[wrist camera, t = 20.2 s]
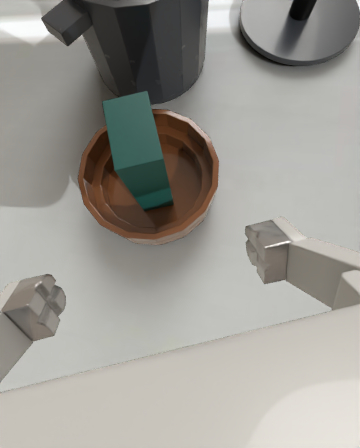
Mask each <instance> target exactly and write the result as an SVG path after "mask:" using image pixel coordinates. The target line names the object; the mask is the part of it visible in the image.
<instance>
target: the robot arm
mask: <svg viewBox="0 0 360 448" xmlns="http://www.w3.org/2000/svg"><path fill="white" fill-rule="evenodd" d="M245 235H246V236H247V238H248V240H247V242H246V251H247V255H248V257H249V260H250V262H251V263H252V265H254V266H256V267H257V273H258V275H259V276H260V278H261V280H262V281H263V283H264V284H268V283H273V282H277V281H282V280H286V281H287V282H289V283H291V284H292V285H294V286H296V287H297V288H299V289H301V290H302V291H304V292H306V293H307V294H309V295H311V296H312V297H314V298H316V299H317V300H319V301H321V302H322V303H324V304H326V305H327V306H329V307H331V308H332V311H329V312H325V313H321V314H317V315H313V316H308V317H304V318H300V319H296V320H292V321H288V322H284V323H280V324H276V325H272V326H268V327H264V328H260V329H256V330H252V331H248V332H243V333H239V334H235V335H231V336H227V337H223V338H219V339H215V340H211V341H207V342H203V343H199V344H195V345H191V346H187V347H183V348H179V349H175V350H171V351H167V352H163V353H158V354H154V355H150V356H146V357H142V358H138V359H134V360H130V361H126V362H122V363H118V364H114V365H110V366H106V367H101V368H97V369H93V370H89V371H85V372H81V373H77V374H73V375H69V376H65V377H61V378H57V379H53V380H49V381H45V382H40V383H36V384H32V385H28V386H24V387H20V388H16V389H12V390H8V391H4V392H0V448H360V252H357V251H354V250H351V249H347V248H344V247H341V246H337V245H334V244H331V243H328V242H324V241H321V240H318V239H314V238H306V237H305V236H304V235H303V234H302V233H301V232H300V231H299V230H297V229H296V228H295V227H294V226H293V225H292V224H291V223H290V222H289V221H288V220H287V219H285V218H284V217H278V218H275V219H271V220H269V221H265V222H261V223H257V224H253V225H249V226H246V228H245ZM55 282H56V280H55V279H54V277H53V276H52V275H50V274H45V275H41V276H36V277H31V278H27V279H23V280H18V281H14V282H11V283H9V284H7V286H6V287H5V288H4V290H3V291H2V293H1V294H0V382H1V381H2V380H3V378H4V377H5V376H6V375H7V373H8V372H9V371H10V370H11V369H12V367H13V366H14V365H15V364H16V363H17V361H18V360H19V359H20V358H21V356H22V355H23V354H24V353H25V352H26V350H27V349H28V348H29V347H30V346H31V344H32V343H33V341H36V340H40V339H44V338H47V337H51V336H54V335H55V333H56V330H57V327H58V325H59V322H60V319H59V317H58V316H59V315H60V314H61V313H62V312H63V311H64V308H65V305H66V296H65V293H64V291H63V290H62V288H60V287H58V286H56V285H55Z"/></svg>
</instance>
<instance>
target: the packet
mask: <svg viewBox="0 0 360 448" xmlns="http://www.w3.org/2000/svg"><path fill="white" fill-rule="evenodd" d="M102 105H103V110H104V115H105V121H106V126H107V132H108V137H109V143H110V148H111V154H112V159H113V164H114V170H115V172H116V173H117V174H118V176H119V177H120V179H121V180H122V181H123V183H124V184H125V185H126V187H127V188H128V189H129V191H130V192H131V194H132V195H133V196H134V198H135V199H136V200H137V202H138V203H139V205H140V206H141V207H142V209H143V210H144V211H149V210H154V209H158V208H162V207H166V206H170V205H174V202H173V197H172V193H171V189H170V184H169V180H168V175H167V171H166V167H165V162H164V158H163V154H162V150H161V145H160V141H159V137H158V133H157V129H156V125H155V121H154V116H153V112H152V108H151V104H150V100H149V96H148V92H147V91H144V92H140V93H136V94H131V95H127V96H123V97H119V98H114V99H110V100H106V101H102Z"/></svg>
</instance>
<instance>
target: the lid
mask: <svg viewBox="0 0 360 448" xmlns="http://www.w3.org/2000/svg"><path fill="white" fill-rule="evenodd" d="M239 21H240V27H241V31H242V33H243V35H244V37H245V39H246V40H247V42H248V43H249V44H250V45H251V46H252V47H253V48H254V49H255V50H256V51H257V52H259V53H260V54H262V55H263V56H265V57H267V58H269V59H271V60H273V61H276V62H279V63H283V64H288V65H297V66H305V65H314V64H319V63H322V62H325V61H328V60H330V59H332V58H334V57H336V56H338V55H339V54H340V53H342V52H343V51H344V50H345V49H346V48H347V47H348V46H349V45H350V43H351V42H352V41H353V39H354V38H355V36H356V34H357V32H358V29H359V26H360V10H359V7H358V4H357V2H356V0H243V2H242V5H241V9H240V16H239Z"/></svg>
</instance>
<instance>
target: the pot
mask: <svg viewBox="0 0 360 448" xmlns="http://www.w3.org/2000/svg"><path fill="white" fill-rule="evenodd" d="M208 1H209V0H63V1H62V2H60V3H59V4H58V5H57V6H55V7H54V8H53V9H52V10H51V11H49V12H48V13H47V14H46V15H44V16H43V17H42V18H41V19H42V21H43V23H44V25H45V26H46V28H47V30H48V31H49V32H50V33H51V34H52V35H54V36H55V37H56V38H58V39H59V40H60V41H62V42H63V43H64V44H65V45H67V46H69V45H70V44H71V43H73V42H74V41H75V40H76V39H77V38H78V37H80V36H81V35H83V37H84V39H85V42H86V44H87V46H88V48H89V50H90V53H91V55H92V57H93V59H94V62H95V64H96V66H97V68H98V70H99V72H100V74H101V76H102V79H103V81H104V83H105V84H106V86H107V87H108V88H109V89H110V90H111V91H112V92H113V93H114V94H116V95H117V96H119V97H123V96H127V95H131V94H136V93H140V92H144V91H147V92H148V96H149V100H150V104H158V103H163V102H167V101H169V100H172V99H174V98H176V97H178V96H180V95H182V94H183V93H185V92H186V91H187V90H188V89H189V88H190V87H191V86H192V85H193V84H194V83H195V82H196V80H197V79H198V77H199V75H200V73H201V70H202V67H203V62H204V59H205V45H206V30H207V15H208Z"/></svg>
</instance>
